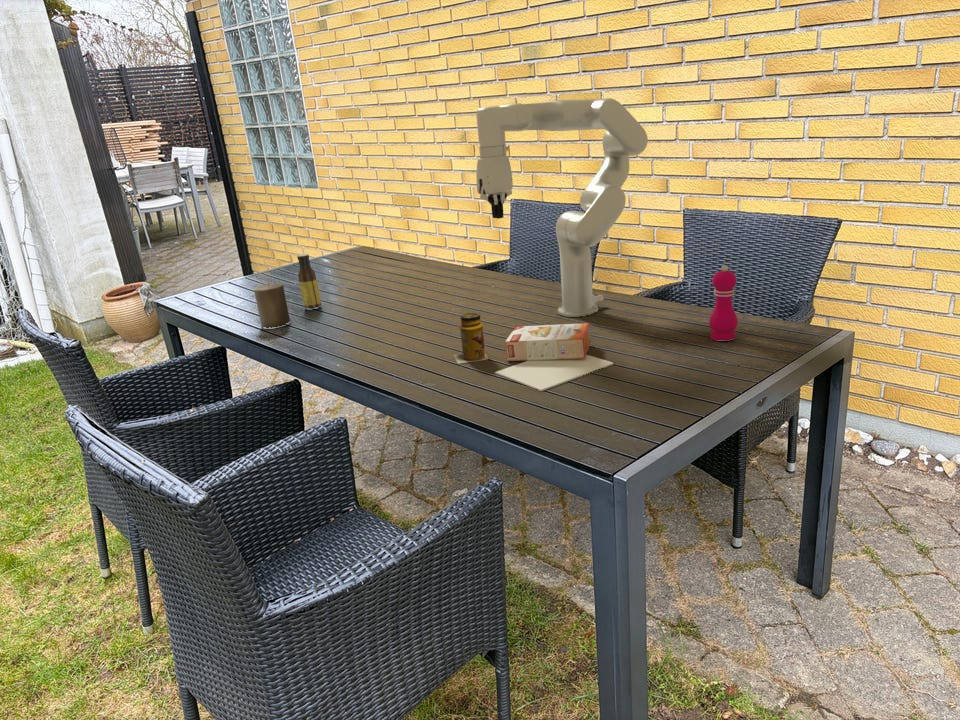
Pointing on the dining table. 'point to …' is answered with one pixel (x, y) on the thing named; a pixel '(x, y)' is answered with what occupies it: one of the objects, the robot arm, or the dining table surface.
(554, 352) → the cracker box
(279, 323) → the pillar candle
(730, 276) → the pepper mill
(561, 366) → the mat
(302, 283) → the sauce bottle
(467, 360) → the condiment
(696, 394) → the dining table surface
